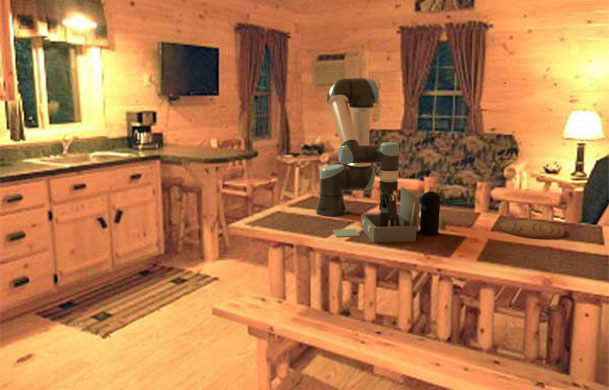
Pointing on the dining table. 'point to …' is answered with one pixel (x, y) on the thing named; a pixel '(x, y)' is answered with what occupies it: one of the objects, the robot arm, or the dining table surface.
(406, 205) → the case
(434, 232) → the aerosol can
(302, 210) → the dining table surface
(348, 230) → the mat
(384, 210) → the small box
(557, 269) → the dining table surface
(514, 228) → the trivet
